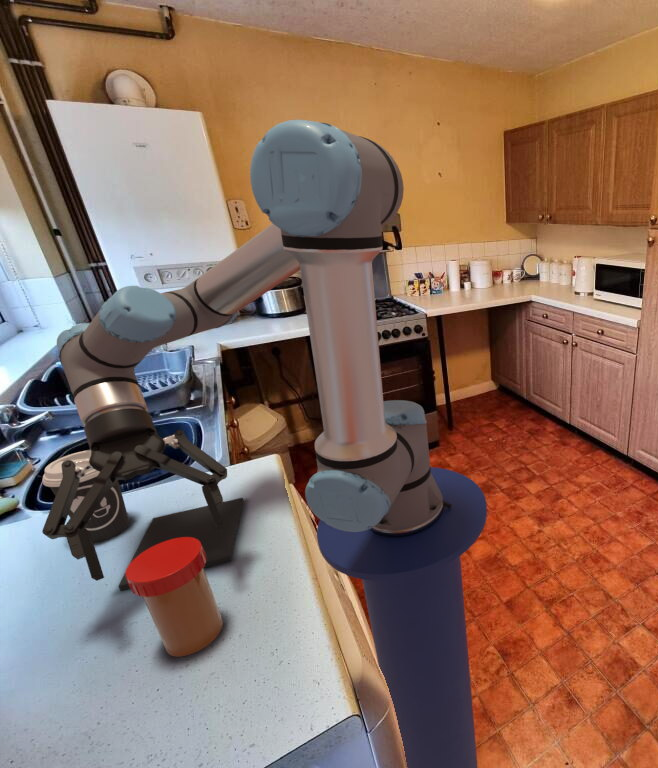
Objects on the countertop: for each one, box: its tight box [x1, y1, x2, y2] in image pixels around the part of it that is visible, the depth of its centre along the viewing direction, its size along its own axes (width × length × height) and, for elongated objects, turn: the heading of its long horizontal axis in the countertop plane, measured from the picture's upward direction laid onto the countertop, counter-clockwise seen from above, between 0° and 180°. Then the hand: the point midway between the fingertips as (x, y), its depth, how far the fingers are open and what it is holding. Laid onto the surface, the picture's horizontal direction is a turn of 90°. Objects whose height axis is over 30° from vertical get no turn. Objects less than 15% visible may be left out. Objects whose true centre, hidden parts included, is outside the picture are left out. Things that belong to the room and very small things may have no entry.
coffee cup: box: [42, 449, 131, 543], centre depth 79 cm, size 10×10×15 cm
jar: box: [142, 568, 224, 658], centre depth 58 cm, size 7×7×13 cm
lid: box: [124, 537, 207, 598], centre depth 56 cm, size 8×8×2 cm
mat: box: [118, 497, 245, 592], centre depth 78 cm, size 15×18×1 cm
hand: (163, 551), depth 60 cm, fingers open, 13 cm apart
